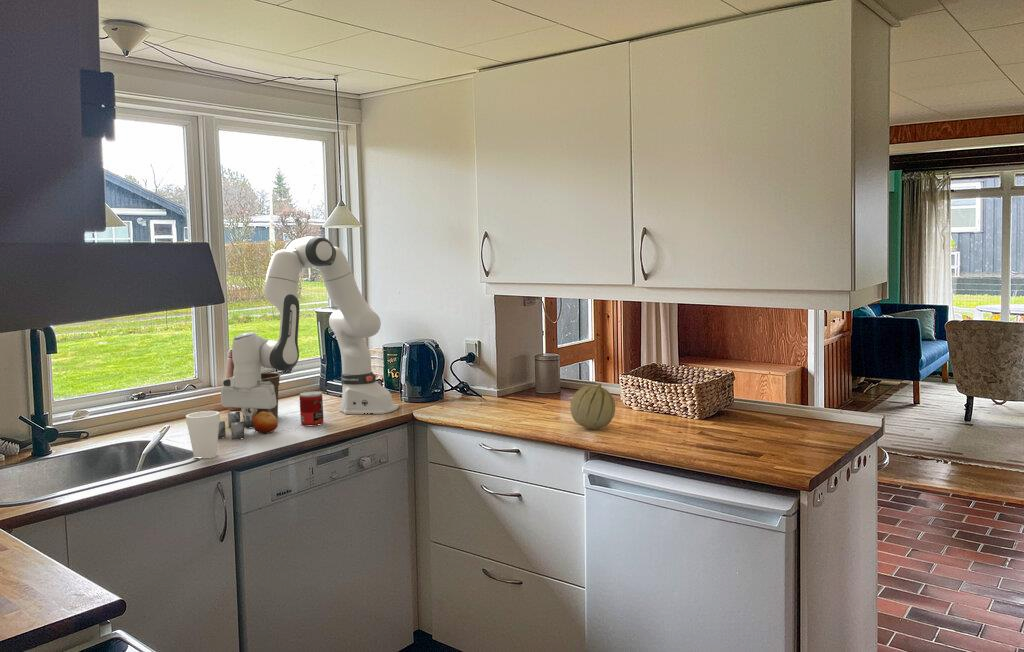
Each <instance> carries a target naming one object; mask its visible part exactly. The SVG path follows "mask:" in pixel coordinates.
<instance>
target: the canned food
mask: <svg viewBox="0 0 1024 652" xmlns="http://www.w3.org/2000/svg"><path fill="white" fill-rule="evenodd" d="M323 404H324V403H323V392H322V391H304V392H301V393H299V411H300V423H301V425H302V426H303V425H317V426H319V425H318V424H321V425H323V424H324V405H323ZM322 423H323V424H322Z"/></svg>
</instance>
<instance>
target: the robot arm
mask: <svg viewBox="0 0 1024 652" xmlns="http://www.w3.org/2000/svg"><path fill="white" fill-rule="evenodd" d="M313 267H315V268H317V269H318V270H319V272H320V276H321V278H322V281H323V283H324V286H325V289H326V292H327V295H328V298H329V300H330V301H331V303H333V304H334V305H335V306H336V308H338V309H336V310H334V311H333V312H332V313H331V314H330V316H329V318H328V319H329V320H328V324H329V327H330V329H331V331H332V332H333V334H334V335H335V338H336V340H337V344H338V348H339V351H340V356H341V357H340V358H341V374H340V376H341V379H340V380H341V387H342V393H341V401H340V407H339V412H342V413H344V415H371V414H370V413H373V414H372V415H384V414H388V413H391V412H394V411H396V410H398V409H399V408H400V406H399V404H397V403H394V402H393V397H392V396H393V395H392V394H391V392H390V391H389V390H388V389H387V388H385V387H384V386H382V385H381V384H380V383H378V382H377V380H376V379H377V378H379V376H378V375H379V374H378V373H376V374H375V373H374V372H373V371H372V355H371V351H370V349H369V347H368V346H367V344H366V343H365V342H366V341H365V339H366V338H370V337H374V336H375V335H377V334H378V333H379V331H380V329H381V325H382V320H381V318H380V316H379V314H377V313H376V312H375V311H374V310H373V309H372V308H371V306H370V305H369V304H368V302H367V301H366V300H365V297H364V296H363V294H362V293H361V291H360V289H359V287H358V284H357V282H356V279H355V277H354V274H353V271H352V269H351V265H350V263H349V261H348V259H347V257H346V255H345V254H344V251H343V250H342V249H341V248H340V247H338V246H335V245H333V244H332V242H331V241H330V240H329V239H327V238H326V237H324V236H318V235H317V236H316V235H315V236H303V237H300V238H294V239H292V240H290V241H288V242H287V243H286V244H285V245H284V247H283V249H279V250H276V251H275V252H274V253H273V255H272V257H271V259H270V262H269V265H268V267H267V271H266V274H265V275H266V276H265V281H264V296H265V299H267V301H268V302H269V303H270V304H271V305H272V306H274V307H275V308H276V309H277V310H278V312H279V315H280V321H279V322H280V323H279V335H278V340H273V339H267V338H265V337H262V336H261V335H258V334H257V333H256V332H253V331H247V332H242V333H239V334H237V335H236V336H234V338H233V339H232V345H231V347H232V348H231V353H232V355H231V357H232V363H233V372H232V373H233V375H232V376H230V377H229V378H225V379H223V380H221V381H220V384H221V385H220V386H221V387H222V388H221V390H220V403H221V405H222V406H223V408H237V409H239V408H240V409H241V413H243V414H244V416H245V421H253V418H254V417H255V414H256V412H257V408H258V409H272V408H274V407H275V406H276V405H277V401H276V395H275V390H274V385H273V384H272V383H271V382H270V381H261V373H262V372H261V369H262V368H267V369H272V370H273V369H274V370H278V371H280V372H281V371H282V372H288V371H291V370H292V369H294V367H295V366H297V363H298V362H299V358H300V351H299V342H298V341H299V340H298V339H299V325H300V301H299V299H298V288H299V286H298V285H299V280H300V274H301V272H302V270H303V268H304V269H305V268H306V269H310V268H313ZM270 384H271V385H270ZM249 408H250V411H252V412H251V414H249V412H248V410H249ZM364 413H365V414H364ZM367 413H368V414H367ZM243 414H242V415H243Z"/></svg>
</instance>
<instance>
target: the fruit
mask: <svg viewBox="0 0 1024 652" xmlns="http://www.w3.org/2000/svg"><path fill="white" fill-rule="evenodd" d="M253 426H254V427H253V428H254V433H259V434H264V435H266V433H267V434H270V433H271V432H274V431H275V430H277V428H278V417H277V418H276V417H275V416H274V415H273V414H271V413H269V412H260V413H258V414H257V415H255V417H254V418H253Z"/></svg>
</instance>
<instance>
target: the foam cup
mask: <svg viewBox="0 0 1024 652" xmlns="http://www.w3.org/2000/svg"><path fill="white" fill-rule="evenodd" d="M220 418H221V416H220V412H219V411H215V410H203V411H196V412H195V411H194V412H191V413H188V414H186V415H185V423H186V426H187V430H188V435H189V440H190V444H191V448H192V453H193V456H194V457H202V458H209V457H213V456H215V457H217V456H216V455H218V454H217V453H218V446H219V445H218V444H219V438H218V431H219V421H221V419H220ZM213 458H214V457H213ZM209 459H210V458H209Z"/></svg>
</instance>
